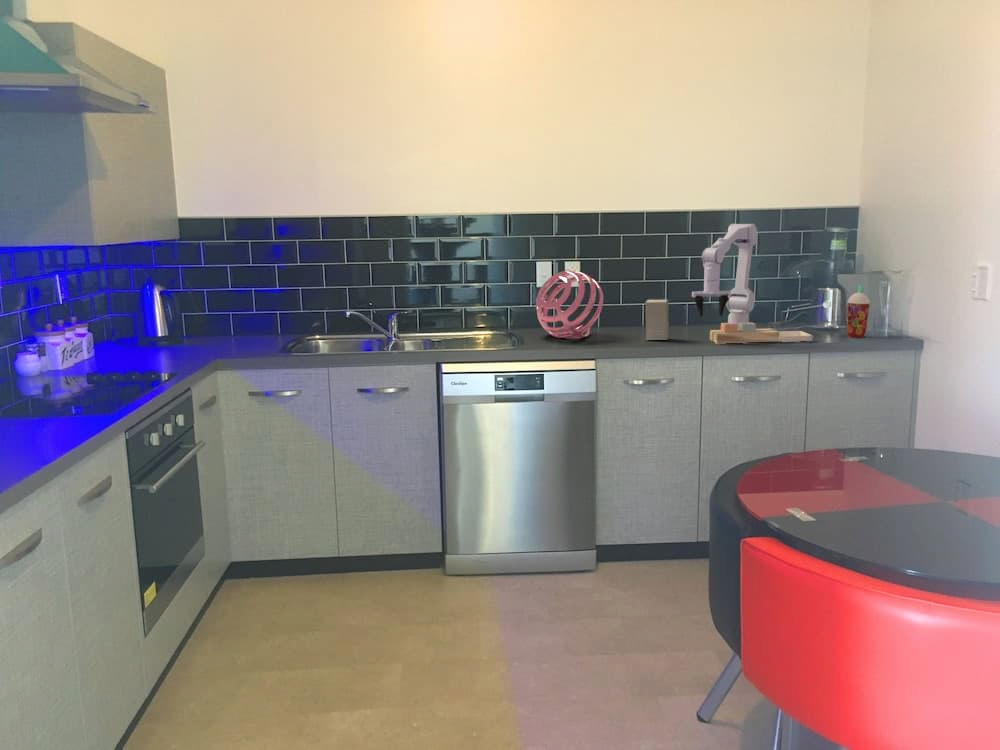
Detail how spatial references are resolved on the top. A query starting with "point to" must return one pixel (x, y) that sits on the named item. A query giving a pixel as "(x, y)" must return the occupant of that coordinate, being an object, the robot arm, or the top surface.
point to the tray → (794, 336)
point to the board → (744, 336)
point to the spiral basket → (563, 315)
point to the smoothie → (857, 314)
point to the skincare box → (657, 320)
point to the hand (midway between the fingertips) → (710, 315)
